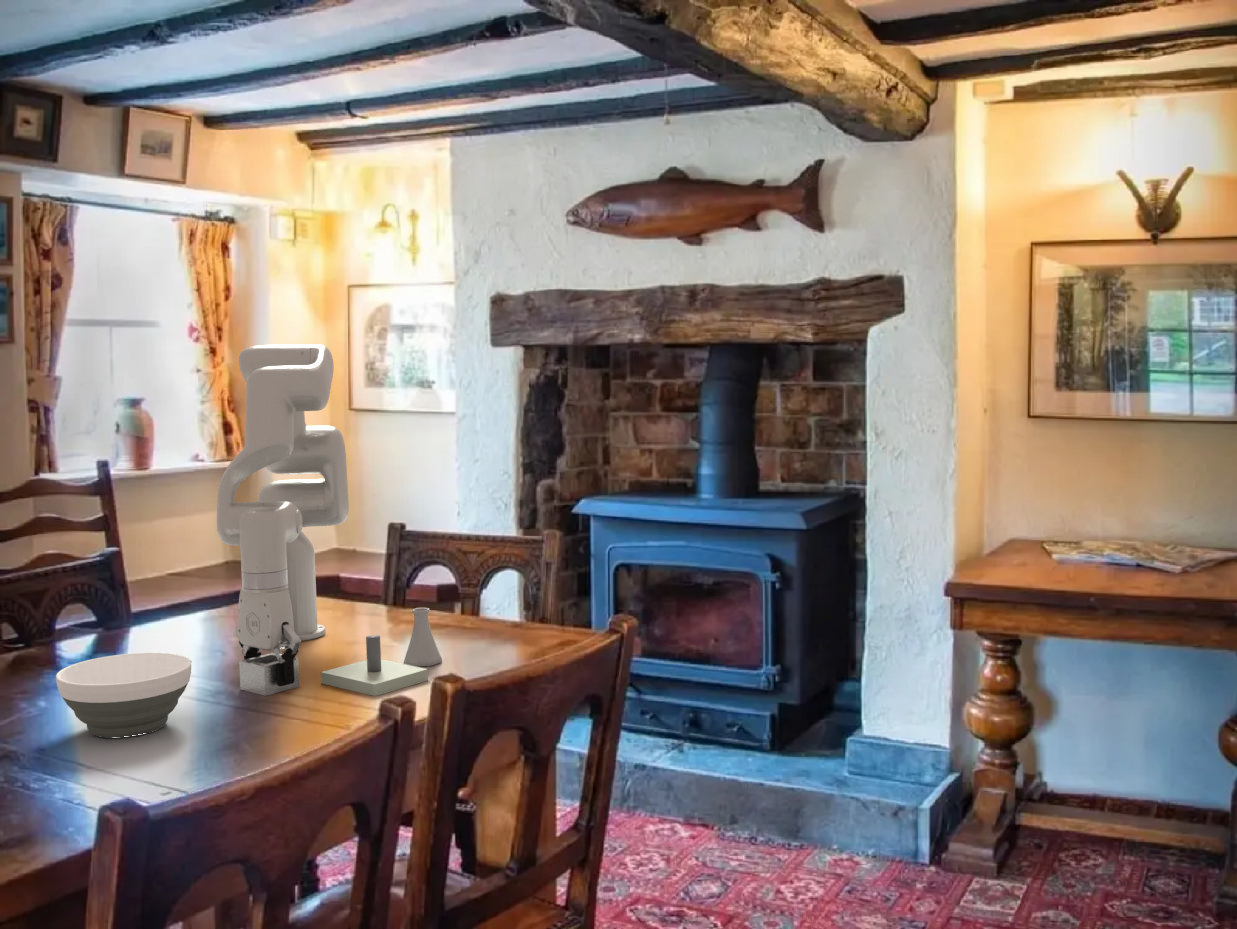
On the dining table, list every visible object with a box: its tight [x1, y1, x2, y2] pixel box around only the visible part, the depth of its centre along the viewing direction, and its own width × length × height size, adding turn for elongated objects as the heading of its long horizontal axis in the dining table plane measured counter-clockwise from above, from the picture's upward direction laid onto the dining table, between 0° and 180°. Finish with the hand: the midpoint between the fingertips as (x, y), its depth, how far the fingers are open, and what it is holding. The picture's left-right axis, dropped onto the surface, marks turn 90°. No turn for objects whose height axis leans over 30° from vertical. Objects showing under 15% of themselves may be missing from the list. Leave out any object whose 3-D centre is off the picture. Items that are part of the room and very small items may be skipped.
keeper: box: [320, 634, 429, 697], centre depth 222 cm, size 14×12×8 cm
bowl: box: [55, 652, 192, 738], centre depth 198 cm, size 20×20×10 cm
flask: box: [403, 607, 443, 667], centre depth 234 cm, size 7×7×10 cm
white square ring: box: [238, 652, 300, 697], centre depth 219 cm, size 7×7×5 cm
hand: (269, 680), depth 219 cm, fingers open, 8 cm apart
